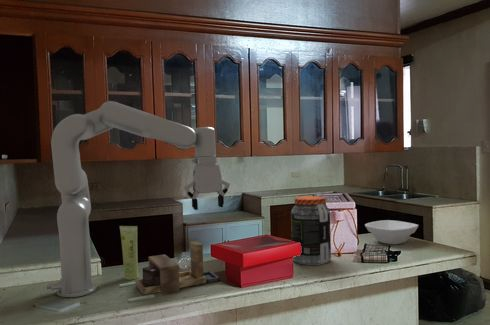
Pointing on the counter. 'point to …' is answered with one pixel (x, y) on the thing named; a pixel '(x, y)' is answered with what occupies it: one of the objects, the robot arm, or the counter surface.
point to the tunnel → (166, 273)
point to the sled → (184, 277)
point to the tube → (129, 251)
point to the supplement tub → (311, 229)
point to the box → (151, 276)
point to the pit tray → (211, 277)
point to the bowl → (391, 231)
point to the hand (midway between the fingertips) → (208, 208)
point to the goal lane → (136, 297)
